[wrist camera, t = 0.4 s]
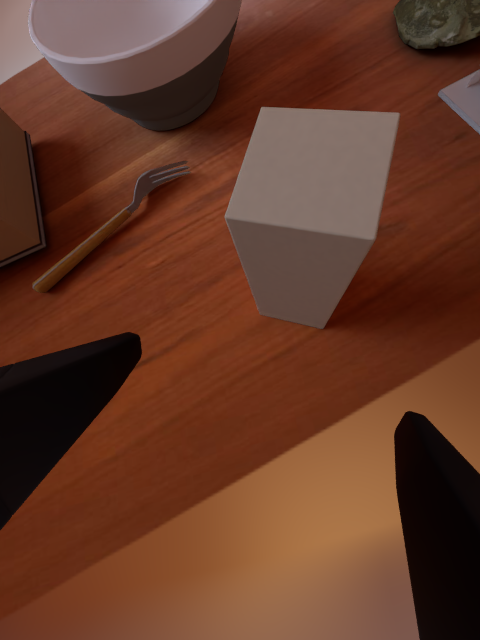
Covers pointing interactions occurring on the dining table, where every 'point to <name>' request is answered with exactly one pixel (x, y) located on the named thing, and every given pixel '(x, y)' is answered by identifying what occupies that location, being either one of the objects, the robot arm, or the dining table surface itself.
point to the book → (18, 195)
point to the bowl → (139, 53)
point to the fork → (107, 226)
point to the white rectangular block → (309, 206)
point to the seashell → (437, 22)
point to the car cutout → (465, 98)
